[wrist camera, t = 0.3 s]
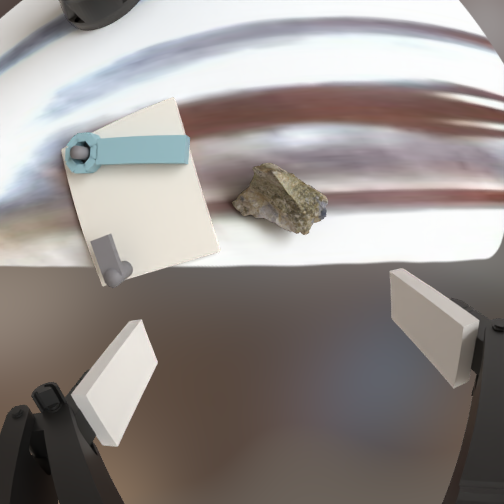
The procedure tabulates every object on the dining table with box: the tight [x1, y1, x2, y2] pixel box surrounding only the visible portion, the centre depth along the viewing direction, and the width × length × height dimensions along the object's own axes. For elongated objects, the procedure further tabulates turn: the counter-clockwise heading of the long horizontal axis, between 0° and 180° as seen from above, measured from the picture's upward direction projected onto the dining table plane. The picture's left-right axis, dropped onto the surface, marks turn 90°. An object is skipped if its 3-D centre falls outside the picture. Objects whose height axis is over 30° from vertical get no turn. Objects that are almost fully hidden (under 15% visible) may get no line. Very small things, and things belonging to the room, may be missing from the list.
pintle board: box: [61, 97, 221, 288], centre depth 37 cm, size 22×19×6 cm
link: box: [65, 132, 190, 174], centre depth 36 cm, size 18×6×2 cm, turn 86°
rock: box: [232, 163, 328, 235], centre depth 37 cm, size 11×6×10 cm
